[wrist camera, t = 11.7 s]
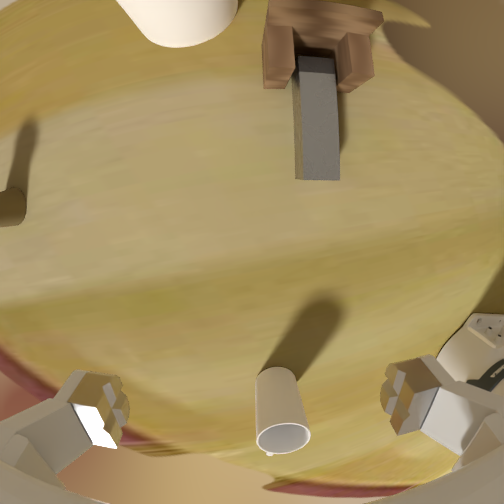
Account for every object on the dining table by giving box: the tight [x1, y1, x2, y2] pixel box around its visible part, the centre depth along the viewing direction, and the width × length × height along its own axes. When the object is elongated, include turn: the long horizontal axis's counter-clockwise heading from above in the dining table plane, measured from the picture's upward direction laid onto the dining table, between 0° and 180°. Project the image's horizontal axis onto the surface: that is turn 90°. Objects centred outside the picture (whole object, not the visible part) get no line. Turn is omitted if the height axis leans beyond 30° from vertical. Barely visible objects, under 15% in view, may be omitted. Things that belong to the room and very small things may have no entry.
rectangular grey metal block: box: [291, 56, 340, 180], centre depth 30 cm, size 4×14×5 cm, turn 2°
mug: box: [255, 367, 311, 456], centre depth 37 cm, size 10×7×12 cm, turn 163°
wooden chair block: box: [262, 0, 384, 93], centre depth 25 cm, size 11×6×12 cm, turn 92°
